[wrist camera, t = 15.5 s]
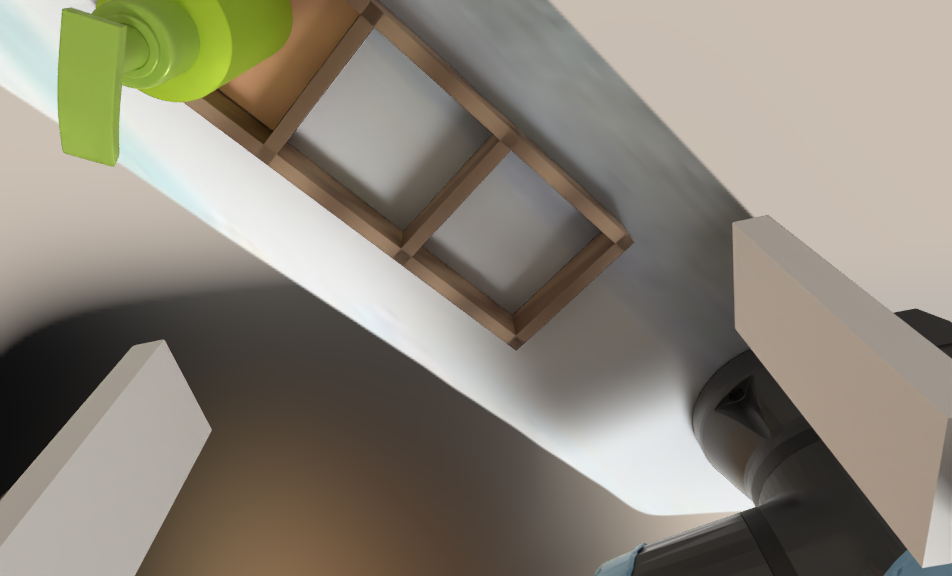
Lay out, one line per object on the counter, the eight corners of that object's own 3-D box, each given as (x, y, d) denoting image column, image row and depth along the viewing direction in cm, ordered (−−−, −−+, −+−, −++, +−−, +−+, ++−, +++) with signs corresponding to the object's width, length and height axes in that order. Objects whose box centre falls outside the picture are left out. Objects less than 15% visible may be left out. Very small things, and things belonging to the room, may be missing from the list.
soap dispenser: (190, 58, 40) (-3, 140, 23) (203, -57, 37) (-8, -64, 20) (281, 87, 42) (163, 186, 24) (301, -22, 39) (183, 0, 21)
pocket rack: (623, 225, 48) (634, 242, 45) (512, 330, 52) (516, 350, 49) (215, -150, 36) (197, -158, 33) (111, 26, 40) (88, 31, 37)
